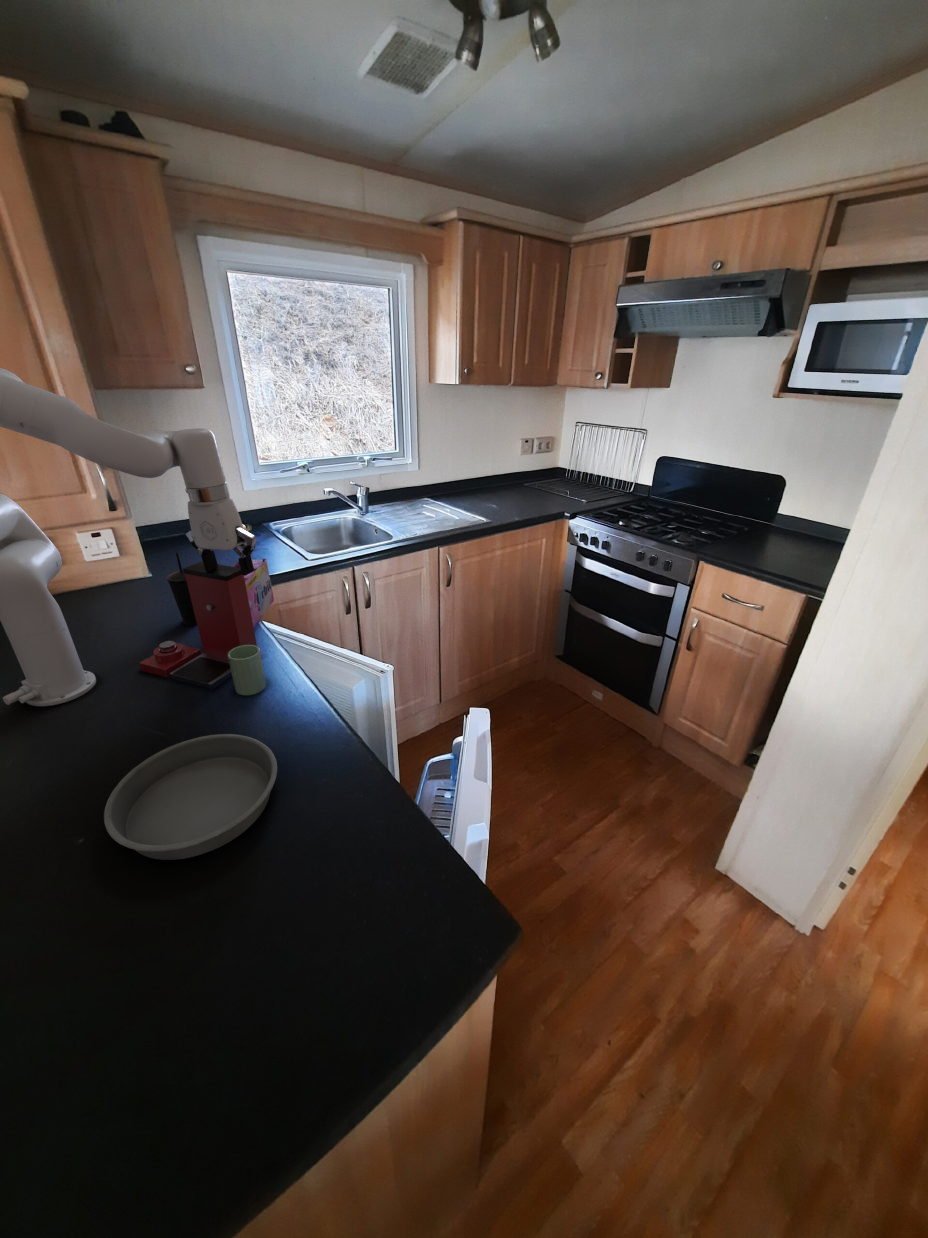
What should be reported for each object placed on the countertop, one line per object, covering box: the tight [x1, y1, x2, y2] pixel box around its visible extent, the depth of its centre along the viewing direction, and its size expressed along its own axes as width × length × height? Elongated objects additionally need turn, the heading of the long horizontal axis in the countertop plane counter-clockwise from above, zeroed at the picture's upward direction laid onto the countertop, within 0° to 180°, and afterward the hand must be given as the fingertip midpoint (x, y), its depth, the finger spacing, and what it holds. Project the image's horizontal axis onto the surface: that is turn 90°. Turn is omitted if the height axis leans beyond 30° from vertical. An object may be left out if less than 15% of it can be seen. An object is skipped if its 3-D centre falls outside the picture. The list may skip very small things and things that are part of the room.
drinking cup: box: [165, 552, 197, 626], centre depth 136 cm, size 8×8×20 cm
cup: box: [228, 645, 267, 696], centre depth 110 cm, size 6×6×9 cm
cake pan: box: [103, 733, 278, 861], centre depth 81 cm, size 25×25×4 cm
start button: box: [158, 640, 176, 654], centre depth 119 cm, size 3×3×2 cm
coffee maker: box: [169, 561, 258, 690], centre depth 114 cm, size 15×12×23 cm
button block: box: [138, 642, 202, 678], centre depth 120 cm, size 10×8×4 cm
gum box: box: [232, 558, 275, 628], centre depth 141 cm, size 24×8×14 cm, turn 2°
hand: (230, 571), depth 111 cm, fingers open, 9 cm apart
